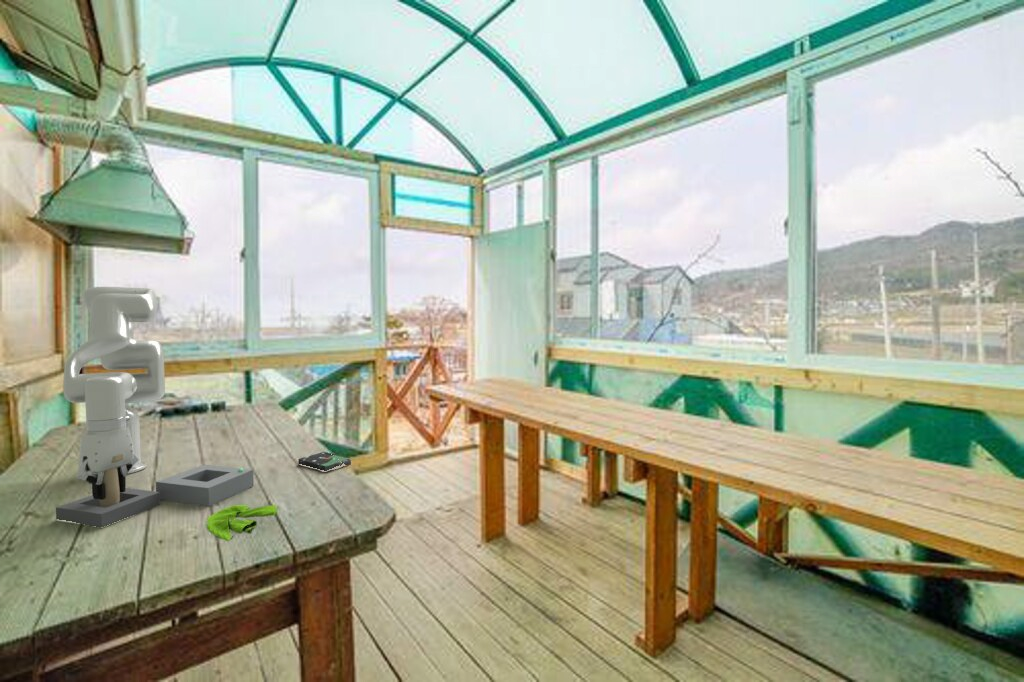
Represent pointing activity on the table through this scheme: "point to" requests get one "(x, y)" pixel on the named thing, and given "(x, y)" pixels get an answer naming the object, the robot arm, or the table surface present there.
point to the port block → (205, 485)
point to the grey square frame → (108, 508)
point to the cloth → (221, 522)
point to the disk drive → (324, 461)
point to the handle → (111, 485)
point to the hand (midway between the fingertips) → (109, 494)
